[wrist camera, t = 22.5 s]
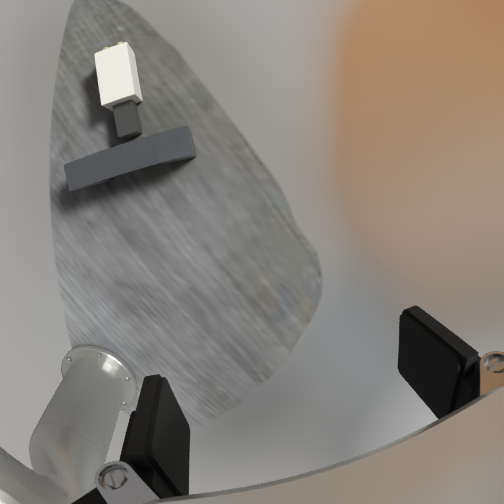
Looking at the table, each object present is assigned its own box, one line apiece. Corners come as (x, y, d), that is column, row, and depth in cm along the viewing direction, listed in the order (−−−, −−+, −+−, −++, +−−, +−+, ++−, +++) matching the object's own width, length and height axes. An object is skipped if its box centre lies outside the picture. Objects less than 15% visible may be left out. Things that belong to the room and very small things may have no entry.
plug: (148, 131, 34) (141, 127, 30) (117, 141, 33) (107, 138, 30) (133, 46, 30) (125, 35, 27) (104, 57, 30) (93, 46, 26)
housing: (196, 156, 35) (193, 154, 29) (89, 187, 34) (69, 191, 29) (191, 132, 34) (187, 125, 29) (84, 164, 34) (63, 165, 28)
